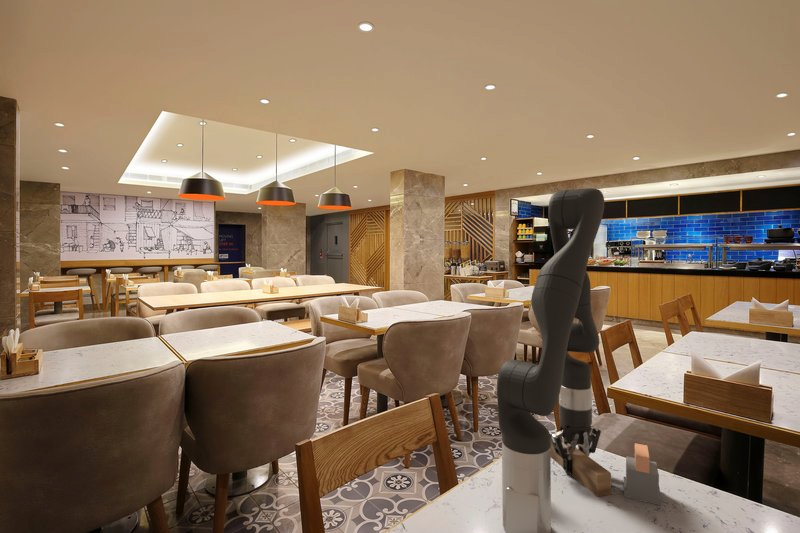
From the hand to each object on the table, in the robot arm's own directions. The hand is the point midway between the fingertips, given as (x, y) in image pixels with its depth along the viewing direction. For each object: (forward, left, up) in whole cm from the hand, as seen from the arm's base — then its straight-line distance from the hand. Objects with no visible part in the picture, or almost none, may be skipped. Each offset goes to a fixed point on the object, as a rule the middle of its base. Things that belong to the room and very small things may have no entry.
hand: (575, 470), depth 99 cm
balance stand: (-3, -14, 0) cm, 14 cm away
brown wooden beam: (0, 0, 0) cm, 0 cm away
